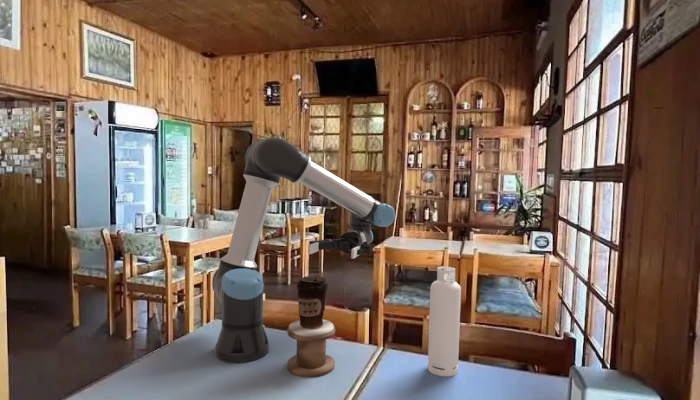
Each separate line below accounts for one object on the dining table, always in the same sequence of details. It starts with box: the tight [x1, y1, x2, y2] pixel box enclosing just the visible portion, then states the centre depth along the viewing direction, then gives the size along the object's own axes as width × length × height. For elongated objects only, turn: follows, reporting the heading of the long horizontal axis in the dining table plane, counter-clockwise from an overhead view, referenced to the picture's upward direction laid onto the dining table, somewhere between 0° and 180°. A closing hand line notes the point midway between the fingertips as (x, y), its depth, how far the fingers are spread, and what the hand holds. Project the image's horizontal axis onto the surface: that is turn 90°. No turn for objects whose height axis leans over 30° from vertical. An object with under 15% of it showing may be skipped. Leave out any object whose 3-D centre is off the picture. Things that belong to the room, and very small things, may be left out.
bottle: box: [427, 266, 462, 377], centre depth 117 cm, size 8×8×28 cm
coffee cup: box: [296, 276, 329, 328], centre depth 118 cm, size 9×8×13 cm
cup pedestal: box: [286, 318, 336, 378], centre depth 118 cm, size 13×13×11 cm
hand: (330, 251), depth 127 cm, fingers open, 13 cm apart
